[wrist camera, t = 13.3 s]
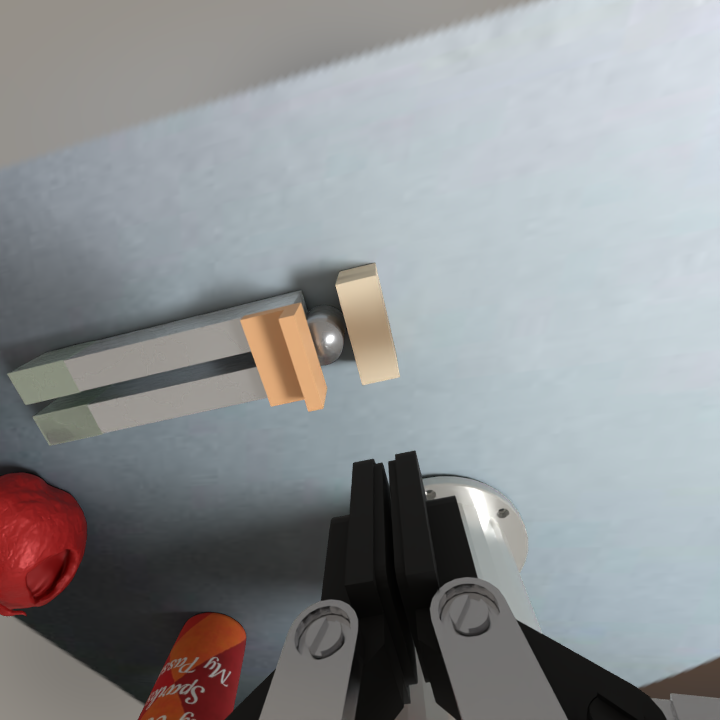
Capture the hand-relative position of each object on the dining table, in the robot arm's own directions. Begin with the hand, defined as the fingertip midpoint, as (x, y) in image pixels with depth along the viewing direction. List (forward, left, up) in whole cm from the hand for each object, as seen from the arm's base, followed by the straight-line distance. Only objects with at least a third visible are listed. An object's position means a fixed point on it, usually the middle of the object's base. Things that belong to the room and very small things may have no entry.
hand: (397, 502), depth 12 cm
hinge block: (0, +1, -18) cm, 18 cm away
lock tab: (0, +5, -14) cm, 15 cm away
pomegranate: (-9, +29, -18) cm, 35 cm away
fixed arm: (-1, +14, -18) cm, 22 cm away
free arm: (+1, +12, -17) cm, 21 cm away
